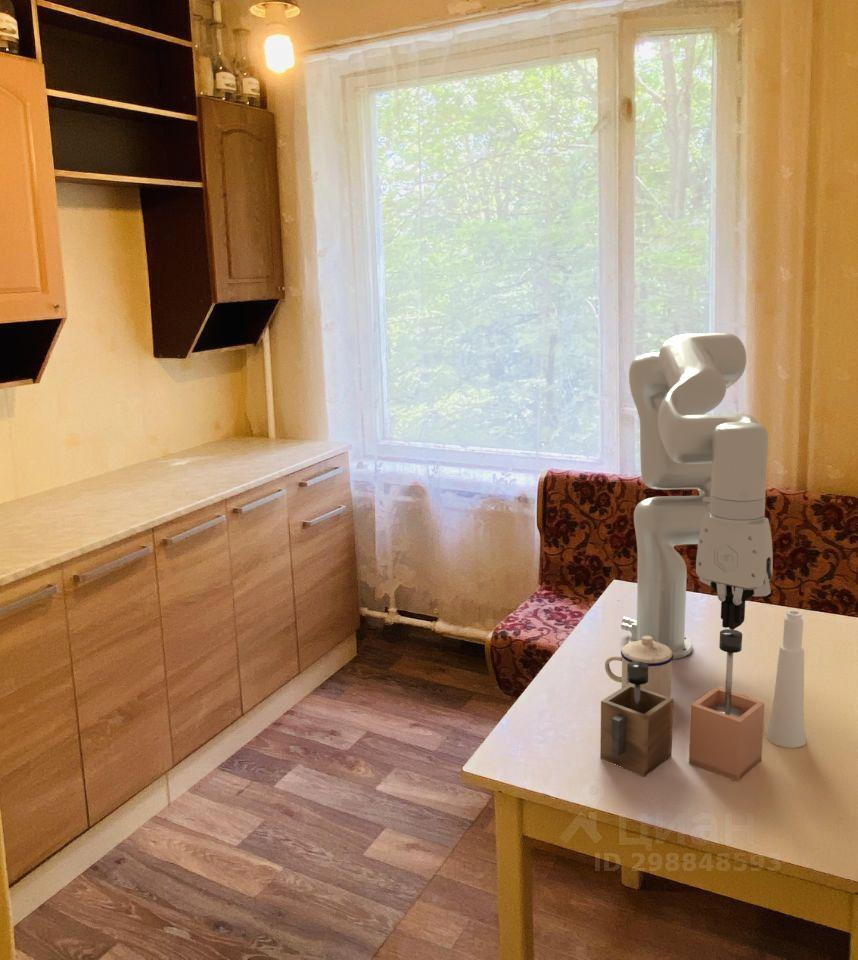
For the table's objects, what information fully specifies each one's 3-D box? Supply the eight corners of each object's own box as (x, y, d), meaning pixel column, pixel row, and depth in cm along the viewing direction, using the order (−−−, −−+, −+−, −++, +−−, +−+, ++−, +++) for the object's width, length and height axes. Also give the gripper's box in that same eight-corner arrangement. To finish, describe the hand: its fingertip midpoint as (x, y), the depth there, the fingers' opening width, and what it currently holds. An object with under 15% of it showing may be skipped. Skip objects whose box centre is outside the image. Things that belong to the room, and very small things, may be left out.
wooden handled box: (671, 756, 140) (673, 698, 137) (637, 782, 133) (638, 722, 131) (628, 739, 145) (629, 683, 143) (593, 763, 138) (593, 705, 136)
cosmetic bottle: (807, 733, 145) (816, 608, 140) (805, 751, 140) (814, 622, 135) (768, 726, 147) (775, 603, 142) (764, 744, 142) (771, 616, 137)
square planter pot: (688, 763, 138) (690, 704, 135) (719, 738, 144) (722, 682, 142) (737, 782, 132) (740, 722, 130) (767, 755, 139) (770, 698, 136)
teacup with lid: (675, 690, 161) (677, 630, 159) (667, 712, 153) (669, 651, 151) (609, 680, 166) (610, 622, 163) (599, 702, 158) (600, 641, 155)
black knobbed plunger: (701, 718, 136) (704, 634, 133) (718, 705, 140) (722, 623, 136) (735, 730, 132) (740, 644, 129) (752, 717, 136) (757, 632, 132)
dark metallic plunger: (611, 748, 139) (612, 666, 136) (630, 734, 143) (632, 654, 140) (642, 760, 135) (643, 677, 132) (661, 746, 139) (663, 664, 136)
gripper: (677, 504, 131) (674, 621, 135) (776, 521, 120) (769, 646, 124) (702, 495, 136) (698, 607, 140) (799, 510, 125) (792, 631, 129)
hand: (732, 625), depth 132 cm, fingers closed
